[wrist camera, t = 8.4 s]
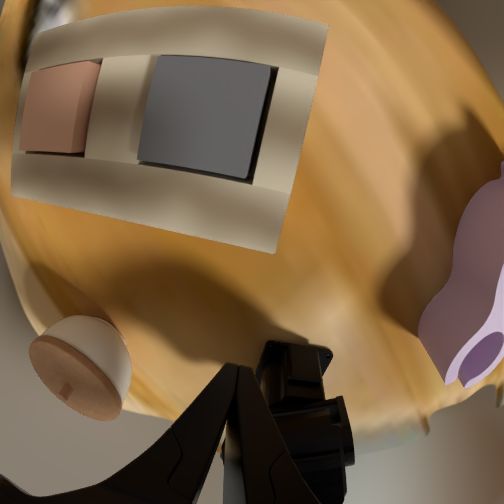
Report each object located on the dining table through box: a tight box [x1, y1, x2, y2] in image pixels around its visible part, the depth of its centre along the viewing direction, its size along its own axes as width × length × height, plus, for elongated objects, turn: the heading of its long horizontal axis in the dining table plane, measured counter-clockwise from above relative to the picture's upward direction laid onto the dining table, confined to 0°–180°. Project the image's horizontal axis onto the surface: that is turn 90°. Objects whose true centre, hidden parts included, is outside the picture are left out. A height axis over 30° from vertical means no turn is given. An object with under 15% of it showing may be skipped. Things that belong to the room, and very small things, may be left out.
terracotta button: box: [19, 61, 101, 153], centre depth 14 cm, size 6×6×4 cm
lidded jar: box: [29, 315, 132, 421], centre depth 22 cm, size 11×11×9 cm
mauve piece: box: [418, 161, 504, 389], centre depth 16 cm, size 20×12×7 cm, turn 156°
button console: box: [11, 6, 329, 254], centre depth 15 cm, size 14×22×4 cm, turn 78°
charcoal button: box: [137, 56, 271, 179], centre depth 14 cm, size 6×6×4 cm
